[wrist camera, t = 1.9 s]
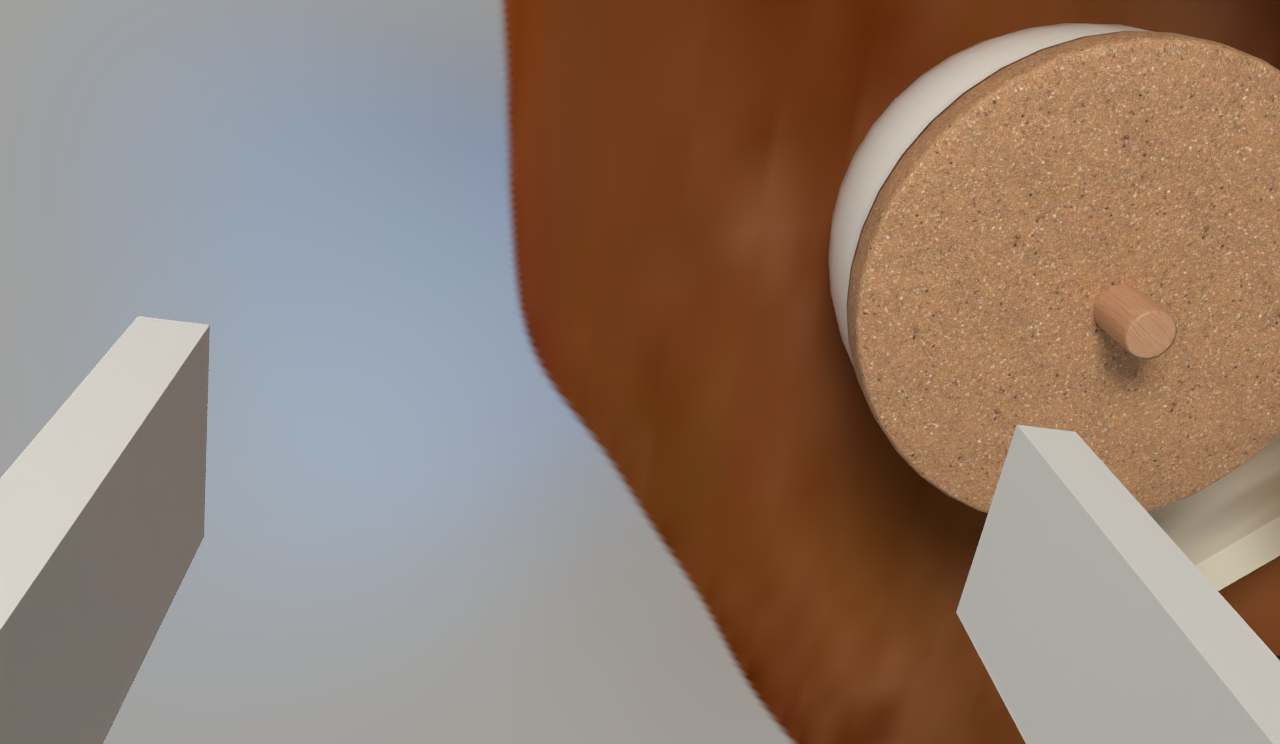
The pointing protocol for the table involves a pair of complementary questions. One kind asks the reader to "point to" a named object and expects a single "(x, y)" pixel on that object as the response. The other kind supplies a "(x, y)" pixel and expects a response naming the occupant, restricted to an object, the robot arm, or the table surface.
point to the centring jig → (1230, 520)
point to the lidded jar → (1069, 258)
